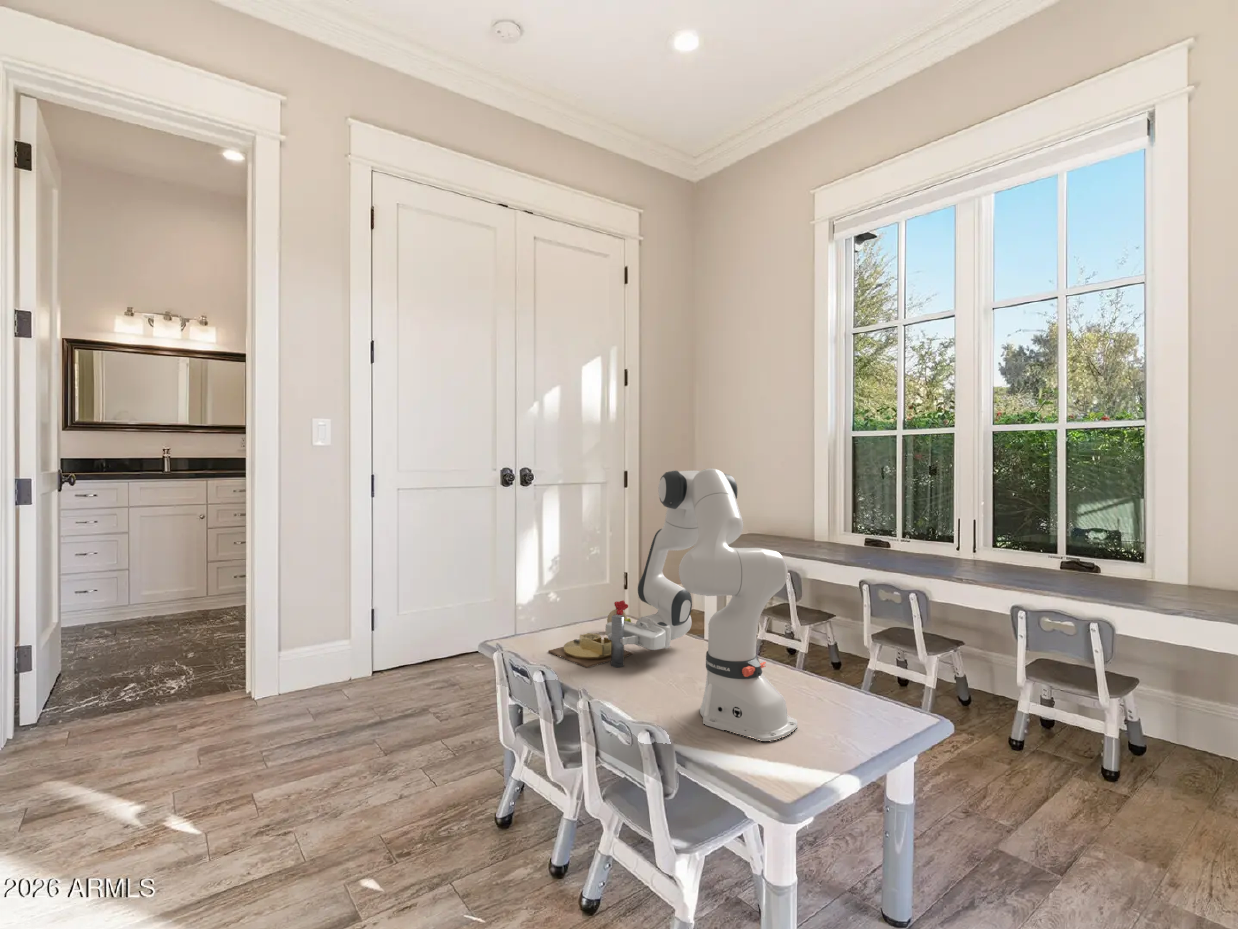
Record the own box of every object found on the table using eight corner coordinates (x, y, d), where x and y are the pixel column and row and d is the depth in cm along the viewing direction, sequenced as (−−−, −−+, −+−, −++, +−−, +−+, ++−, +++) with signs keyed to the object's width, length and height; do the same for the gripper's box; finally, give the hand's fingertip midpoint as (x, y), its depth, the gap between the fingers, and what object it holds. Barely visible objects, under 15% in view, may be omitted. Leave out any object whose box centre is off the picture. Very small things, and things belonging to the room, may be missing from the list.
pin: (626, 665, 179) (626, 616, 179) (616, 668, 177) (617, 618, 176) (617, 662, 182) (618, 614, 181) (608, 664, 179) (609, 616, 179)
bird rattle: (619, 641, 209) (640, 627, 213) (607, 612, 207) (629, 598, 211) (609, 636, 215) (630, 623, 219) (598, 608, 212) (620, 595, 216)
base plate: (632, 654, 189) (632, 651, 189) (586, 667, 177) (586, 665, 177) (593, 640, 202) (593, 638, 202) (548, 652, 190) (548, 649, 190)
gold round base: (629, 652, 188) (629, 637, 188) (588, 664, 177) (589, 648, 177) (592, 639, 201) (593, 626, 201) (552, 650, 190) (553, 635, 190)
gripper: (625, 613, 195) (591, 621, 186) (674, 627, 181) (640, 636, 171) (624, 633, 196) (591, 642, 186) (673, 649, 181) (640, 659, 171)
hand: (615, 639), depth 178 cm, fingers closed on pin, 4 cm apart
